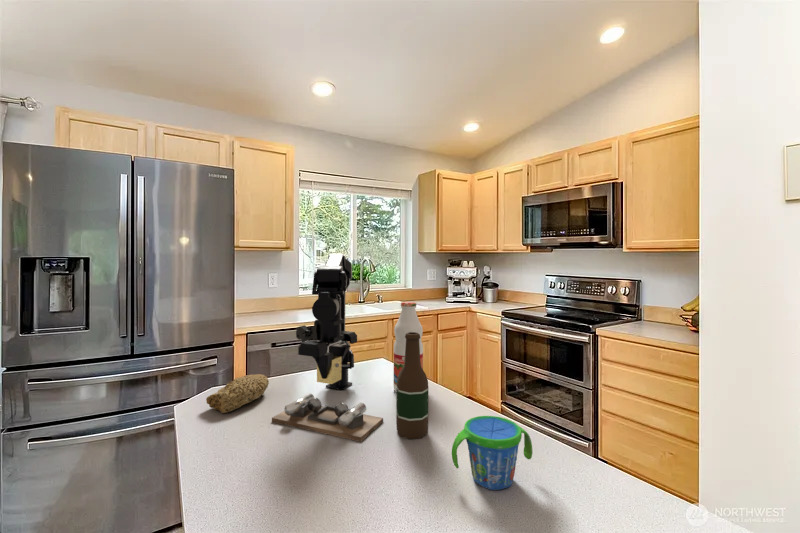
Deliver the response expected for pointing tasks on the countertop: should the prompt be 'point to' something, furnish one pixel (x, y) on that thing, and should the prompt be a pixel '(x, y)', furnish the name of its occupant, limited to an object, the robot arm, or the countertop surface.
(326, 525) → the countertop surface
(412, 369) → the beer bottle
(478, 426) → the snack cup
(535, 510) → the countertop surface
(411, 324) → the fruit juice
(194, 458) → the countertop surface
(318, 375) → the block
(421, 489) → the countertop surface
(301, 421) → the padlock latch board
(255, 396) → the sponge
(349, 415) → the shafts
